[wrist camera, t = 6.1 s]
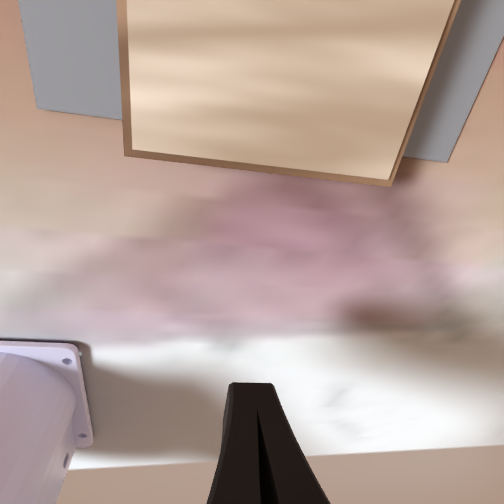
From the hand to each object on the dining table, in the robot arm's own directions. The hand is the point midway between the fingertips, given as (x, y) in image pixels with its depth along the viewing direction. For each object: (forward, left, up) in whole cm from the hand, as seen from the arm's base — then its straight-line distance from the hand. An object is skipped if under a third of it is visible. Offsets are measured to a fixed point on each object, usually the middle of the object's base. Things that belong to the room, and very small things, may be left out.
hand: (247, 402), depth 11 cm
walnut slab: (+6, 0, -6) cm, 8 cm away
